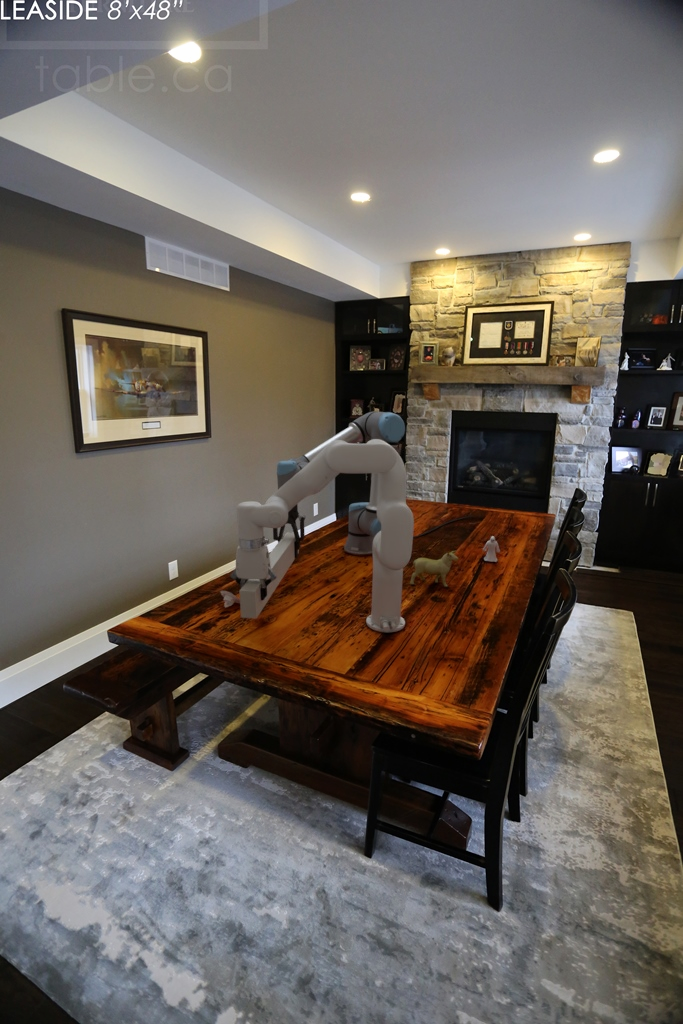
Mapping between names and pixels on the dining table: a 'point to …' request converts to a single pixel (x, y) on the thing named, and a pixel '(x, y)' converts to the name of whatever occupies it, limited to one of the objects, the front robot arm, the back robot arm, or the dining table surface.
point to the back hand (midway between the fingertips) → (289, 556)
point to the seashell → (229, 598)
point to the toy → (434, 567)
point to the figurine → (491, 550)
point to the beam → (280, 564)
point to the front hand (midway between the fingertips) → (254, 597)
